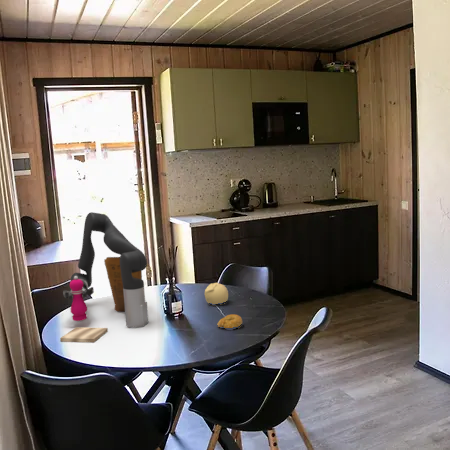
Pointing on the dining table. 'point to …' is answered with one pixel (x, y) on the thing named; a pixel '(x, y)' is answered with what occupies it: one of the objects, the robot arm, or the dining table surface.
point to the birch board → (84, 334)
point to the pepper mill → (78, 300)
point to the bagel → (230, 321)
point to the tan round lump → (216, 293)
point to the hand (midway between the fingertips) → (77, 296)
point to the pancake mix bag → (117, 281)
